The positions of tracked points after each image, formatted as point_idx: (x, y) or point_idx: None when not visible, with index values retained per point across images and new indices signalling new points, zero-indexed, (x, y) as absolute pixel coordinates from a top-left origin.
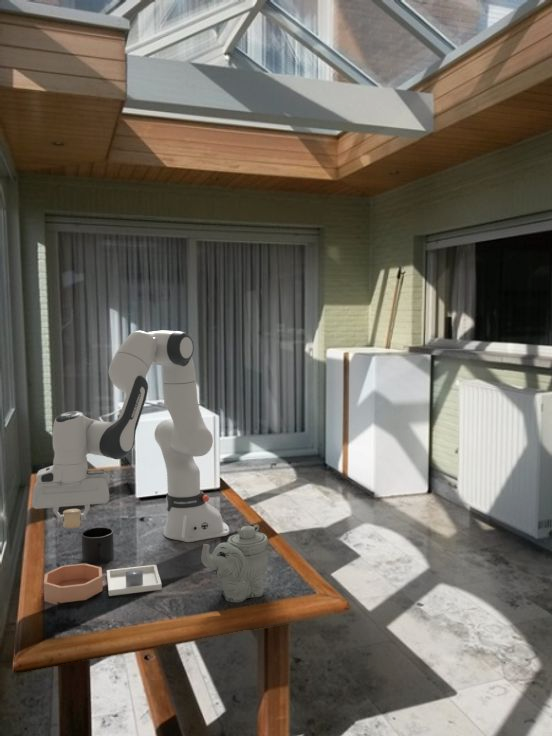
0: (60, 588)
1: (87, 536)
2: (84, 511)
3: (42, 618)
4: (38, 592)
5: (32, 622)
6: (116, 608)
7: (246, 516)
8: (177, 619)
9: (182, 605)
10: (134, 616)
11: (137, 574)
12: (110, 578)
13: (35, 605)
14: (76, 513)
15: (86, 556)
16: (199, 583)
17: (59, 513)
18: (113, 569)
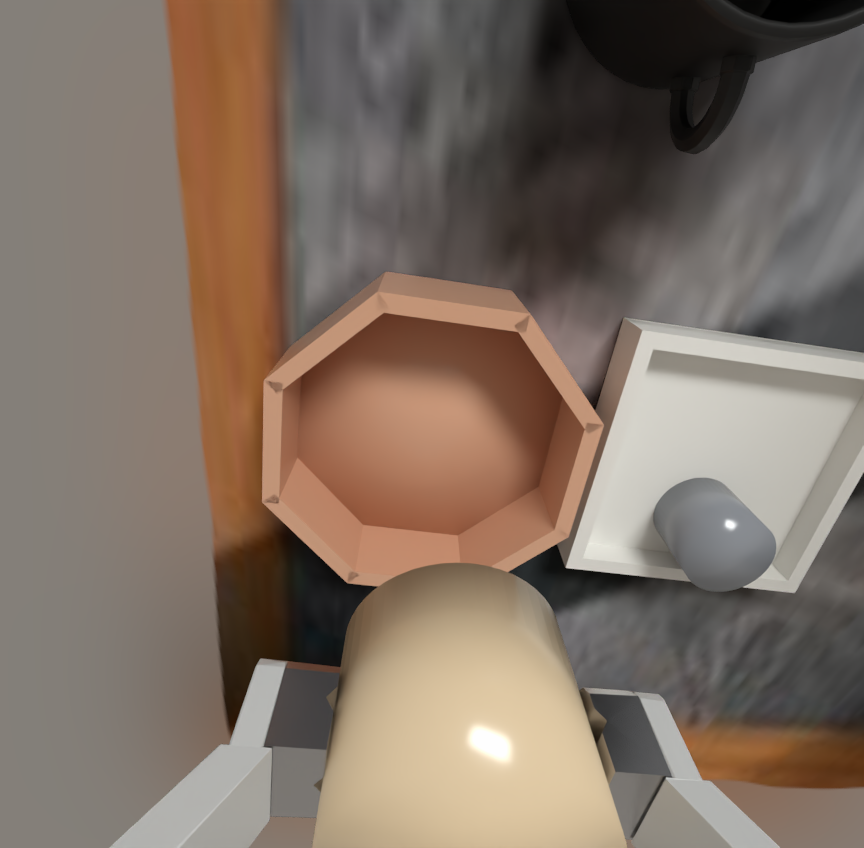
0: (347, 580)
1: None
2: (682, 834)
3: (283, 587)
4: (254, 341)
5: (247, 601)
6: (558, 613)
7: None
8: (705, 733)
9: (773, 670)
10: (594, 679)
11: (733, 581)
12: (618, 451)
13: (249, 475)
14: None
15: (596, 11)
16: None
17: (253, 769)
18: (680, 337)
